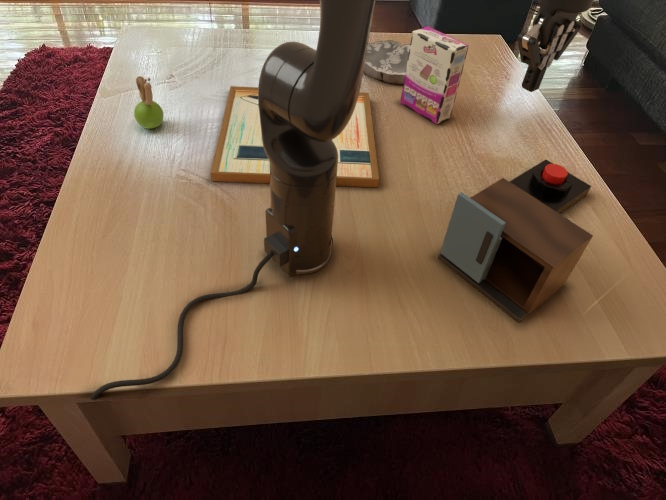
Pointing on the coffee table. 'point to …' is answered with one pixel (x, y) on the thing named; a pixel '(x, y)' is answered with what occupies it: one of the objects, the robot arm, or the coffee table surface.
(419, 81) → the candy bar box
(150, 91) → the snail figurine
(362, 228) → the coffee table surface
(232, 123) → the picture frame
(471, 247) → the gray sliding door
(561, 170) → the button
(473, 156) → the coffee table surface
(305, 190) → the robot arm
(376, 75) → the grey flat irregular slab
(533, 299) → the cabinet
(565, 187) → the button box
